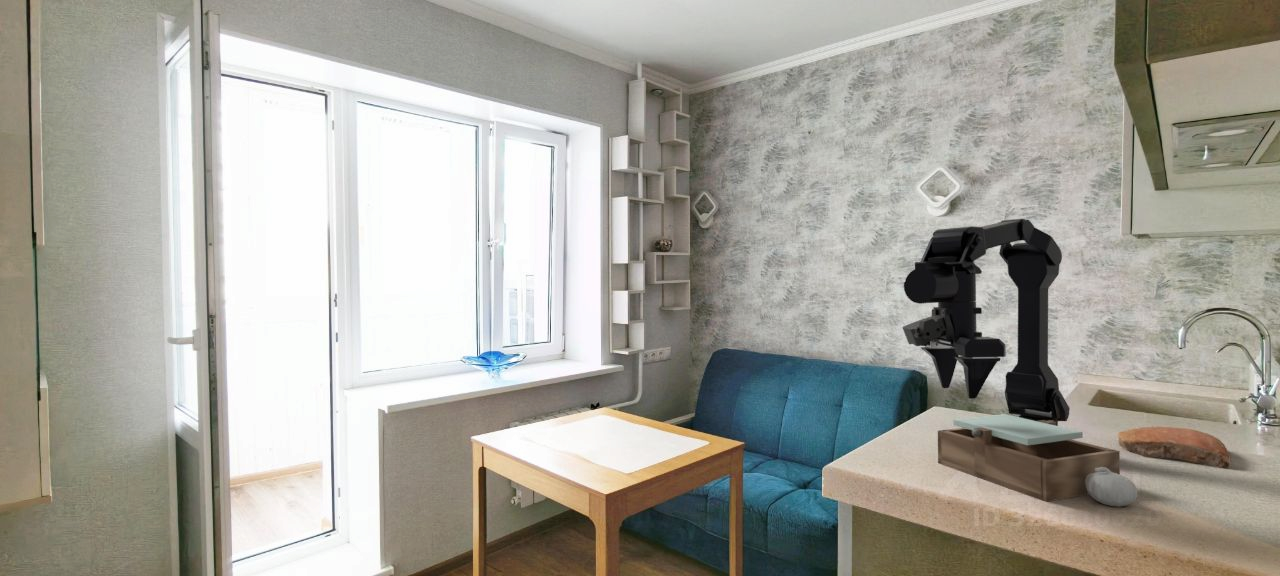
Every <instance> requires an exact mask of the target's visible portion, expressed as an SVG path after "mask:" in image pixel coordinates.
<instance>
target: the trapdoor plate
mask: <svg viewBox="0 0 1280 576" xmlns="http://www.w3.org/2000/svg"><path fill="white" fill-rule="evenodd" d="M952 420H953V426H955V427H957V428H958V427H959V428H966V429H969V430H974V428H985V429H989V430H992V436H995V437H999V438H1002V439H1006V440H1010V441H1013V442H1017V443H1021V444H1024V445H1034V444H1042V443H1049V442H1056V441H1064V440H1077V439H1083V431H1081V430H1076V429H1072V428H1068V427H1063V426H1059V425H1058V426H1055V425H1051V424H1046V423H1042V422H1037V421H1033V420H1029V419H1024V418H1020V417H1019V416H1014V415H1012V414H1006V413H1001V414H991V415H983V416H975V417H964V418H956V419H952Z"/></svg>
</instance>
